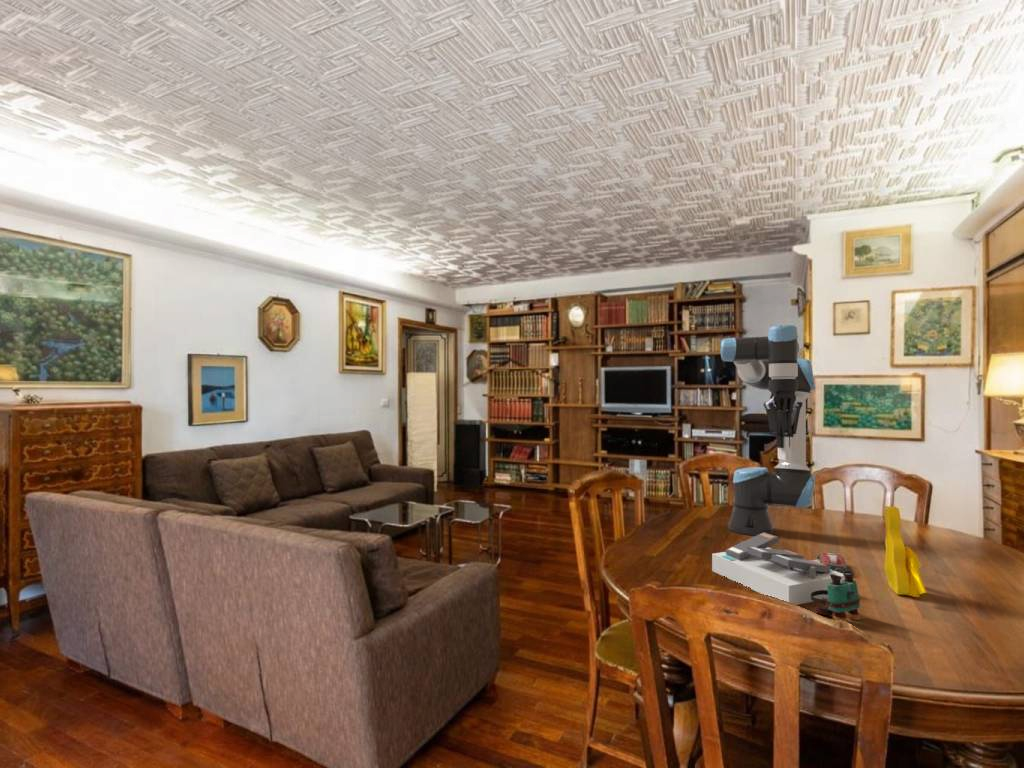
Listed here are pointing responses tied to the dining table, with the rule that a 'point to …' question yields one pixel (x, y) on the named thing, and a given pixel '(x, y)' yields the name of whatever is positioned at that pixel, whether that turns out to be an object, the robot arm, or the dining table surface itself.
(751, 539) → the switch
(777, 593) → the console
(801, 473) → the robot arm
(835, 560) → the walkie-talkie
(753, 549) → the switch
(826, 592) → the binoculars
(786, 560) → the switch
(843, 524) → the dining table surface
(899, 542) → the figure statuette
